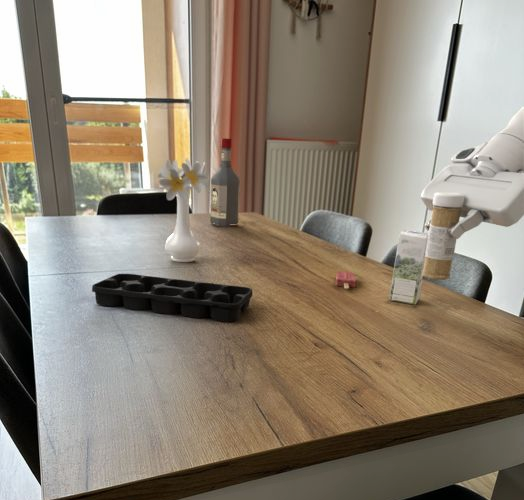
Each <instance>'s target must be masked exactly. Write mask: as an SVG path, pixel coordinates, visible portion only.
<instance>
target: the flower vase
mask: <svg viewBox="0 0 524 500" xmlns="http://www.w3.org/2000/svg"><path fill="white" fill-rule="evenodd" d="M178 164H179V163H178V161H177V160H173V162H172V163H171V160H170V158H167V159H166V161H165V167H162V168H160V170H159V172H158V174H157V177H158V179H159V180H158V183H159V184H158V188H160V189H161V188H168V190H167V192H166V200H167V201H173V200H174V199H175V197H176V222H175V226H174V230H173V232H172V234H171V235H170V236H169V237H168V238H167V240H166V241H165V243H164V249H165V251H166V253H167V254H168V255H169V256H170V258H171V261H173V262H177V263H191V262H194V261H195V260H196V257H197V256H198V255H199V254H200V252H201V251H202V245H201V242H200V240H199V239H198V238H197V236H195V234H194V232H193V230H192V226H191V222H190V196H191V190H192V188H193V189H194V190H195V192H196V193H201V192H202V191H201V190H202V187H203V188H204V190H205V191H206V192H208V193H209V194H211V187H210V186H209V184H208V182H209V180H210V174H209V173H208V172H206V162H205V161H204V162H203V164H202V165H201V162H200V161H195V162H194V163H193V164H192V163H191V161H190V160H189V159H188V158H187V157H185V158H184V162H182V163H181V168H180V167H178V166H179V165H178ZM201 186H202V187H201Z"/></svg>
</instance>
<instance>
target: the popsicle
mask: <svg viewBox="0 0 524 500" xmlns="http://www.w3.org/2000/svg"><path fill="white" fill-rule="evenodd" d="M356 285H357V279H356V276H355V273H354V272H351V271H347V270H346V271H344V270H341V271H340V270H338V271H336V275H335V286H336V287H343V288H344V289H345V290H349V289H350V288H356Z"/></svg>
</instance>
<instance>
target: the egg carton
mask: <svg viewBox="0 0 524 500" xmlns="http://www.w3.org/2000/svg"><path fill="white" fill-rule="evenodd" d="M91 292H92V293H94V295H95V302H96V304H97V305H99V306H104V307H118V306H121V305H123V307H124V308H125V309H130V310H137V311H139V310H142V311H145V310H146V311H147V310H148V309H151V310H152V312H154V313H157V314H165V315H166V314H167V315H174V314H177V313H179V312H180V313H181V315H182V316H183V317H188V318H195V319H202V318H203V319H204V318H207V317H210V318H211V319H212V320H213V321H218V322H227V323H229V322H234V321H237V320H238V319H240V317H241V312H244V311H246V310H247V308H248V307H249V306H250V302H251V299H252V297H253V289H252V288H250V287H247V286H241V285H240V286H239V285H230V284H221V283H213V282H202V281H195V280H186V279H177V278H168V277H160V276H151V275H143V274H135V273H118V274H115V275H112V276H109V277H107V278H104V279H103V280H100V281H98V282H96V283H93V284H92V286H91Z"/></svg>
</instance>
